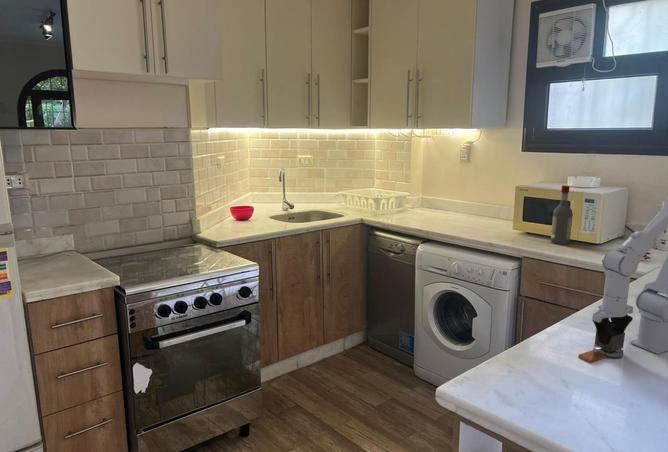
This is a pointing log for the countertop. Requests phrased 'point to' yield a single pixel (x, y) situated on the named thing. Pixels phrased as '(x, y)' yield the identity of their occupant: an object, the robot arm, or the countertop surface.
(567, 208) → the liquor
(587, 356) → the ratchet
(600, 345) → the dark grey cube
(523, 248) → the countertop surface
